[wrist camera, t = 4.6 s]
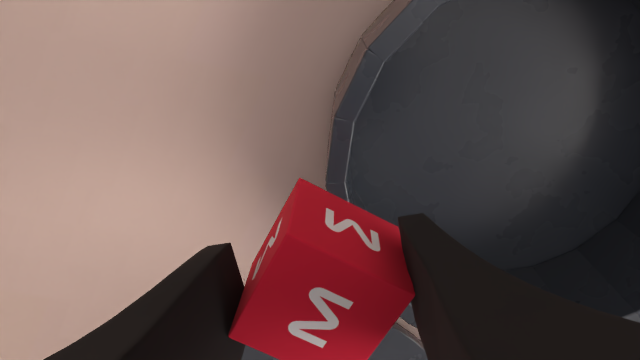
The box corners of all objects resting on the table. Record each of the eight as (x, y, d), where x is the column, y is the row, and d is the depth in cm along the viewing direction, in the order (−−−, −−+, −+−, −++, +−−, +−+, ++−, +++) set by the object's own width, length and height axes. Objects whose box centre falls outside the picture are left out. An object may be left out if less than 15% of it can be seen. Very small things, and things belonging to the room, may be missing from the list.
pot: (667, 256, 21) (757, 326, 16) (359, 298, 22) (364, 372, 18) (703, -97, 15) (850, -136, 11) (298, -9, 17) (284, -11, 13)
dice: (299, 176, 12) (286, 233, 9) (399, 226, 12) (416, 294, 9) (252, 263, 13) (227, 337, 10) (345, 306, 13) (346, 389, 10)
